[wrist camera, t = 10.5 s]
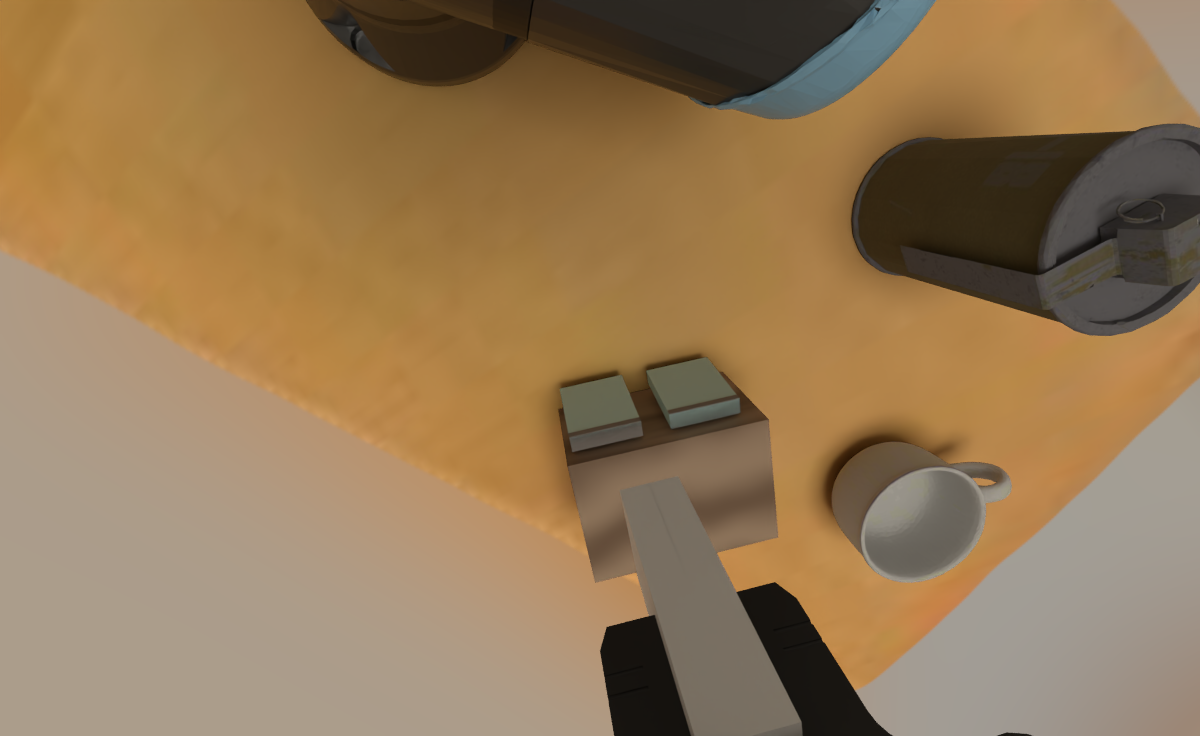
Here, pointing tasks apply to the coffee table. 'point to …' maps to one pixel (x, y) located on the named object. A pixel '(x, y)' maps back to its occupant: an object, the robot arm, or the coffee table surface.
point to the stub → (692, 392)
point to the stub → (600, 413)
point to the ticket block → (704, 466)
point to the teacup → (913, 509)
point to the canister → (1043, 221)
